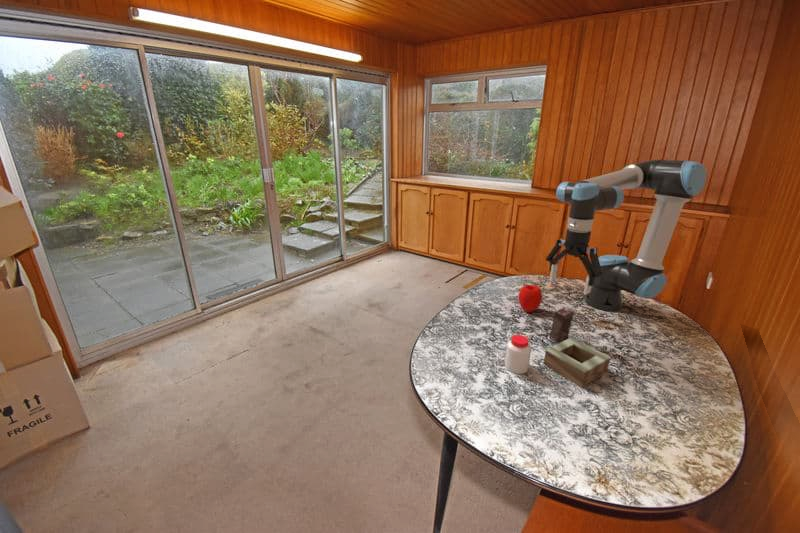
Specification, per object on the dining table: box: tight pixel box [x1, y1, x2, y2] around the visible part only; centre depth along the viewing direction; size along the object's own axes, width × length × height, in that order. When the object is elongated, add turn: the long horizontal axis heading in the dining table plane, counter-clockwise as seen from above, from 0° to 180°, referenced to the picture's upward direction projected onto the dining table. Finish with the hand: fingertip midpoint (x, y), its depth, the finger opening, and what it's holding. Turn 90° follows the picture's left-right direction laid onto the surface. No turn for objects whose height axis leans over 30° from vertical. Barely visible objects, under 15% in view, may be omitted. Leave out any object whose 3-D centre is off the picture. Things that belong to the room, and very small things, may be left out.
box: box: [549, 307, 574, 344], centre depth 132 cm, size 6×4×12 cm
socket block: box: [543, 337, 611, 388], centre depth 117 cm, size 14×14×6 cm
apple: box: [517, 284, 543, 313], centre depth 154 cm, size 10×10×12 cm
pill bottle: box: [504, 334, 532, 375], centre depth 117 cm, size 8×8×11 cm
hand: (568, 286), depth 126 cm, fingers open, 13 cm apart
